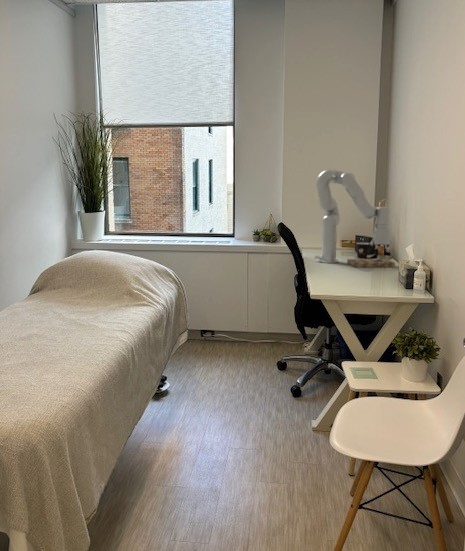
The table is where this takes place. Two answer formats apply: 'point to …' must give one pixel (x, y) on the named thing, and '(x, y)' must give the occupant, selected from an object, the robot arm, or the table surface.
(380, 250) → the awl
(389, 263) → the board
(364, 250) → the coffee mug
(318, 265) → the table surface
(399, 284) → the table surface
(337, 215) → the robot arm
